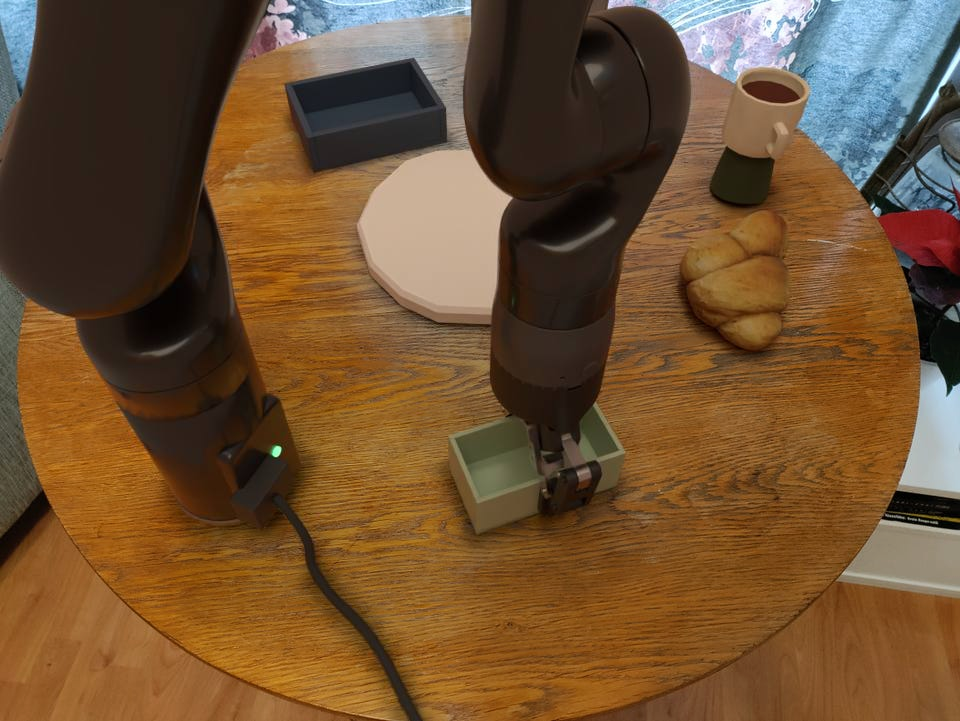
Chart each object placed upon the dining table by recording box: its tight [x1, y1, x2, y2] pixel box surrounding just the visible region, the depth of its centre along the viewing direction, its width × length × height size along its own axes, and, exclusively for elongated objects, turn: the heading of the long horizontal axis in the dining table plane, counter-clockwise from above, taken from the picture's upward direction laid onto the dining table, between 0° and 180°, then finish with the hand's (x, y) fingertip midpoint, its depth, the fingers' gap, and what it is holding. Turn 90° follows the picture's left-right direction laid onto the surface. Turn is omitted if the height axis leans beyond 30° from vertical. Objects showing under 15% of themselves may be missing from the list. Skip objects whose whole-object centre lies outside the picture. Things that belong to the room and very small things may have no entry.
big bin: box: [283, 57, 448, 173], centre depth 90 cm, size 16×12×5 cm
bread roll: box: [678, 209, 792, 351], centre depth 70 cm, size 13×10×8 cm
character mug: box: [709, 66, 811, 205], centre depth 80 cm, size 11×7×13 cm, turn 6°
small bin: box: [447, 401, 627, 536], centre depth 60 cm, size 12×6×5 cm, turn 111°
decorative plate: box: [355, 149, 512, 325], centre depth 78 cm, size 25×4×25 cm
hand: (534, 473), depth 61 cm, fingers closed on small bin, 6 cm apart
